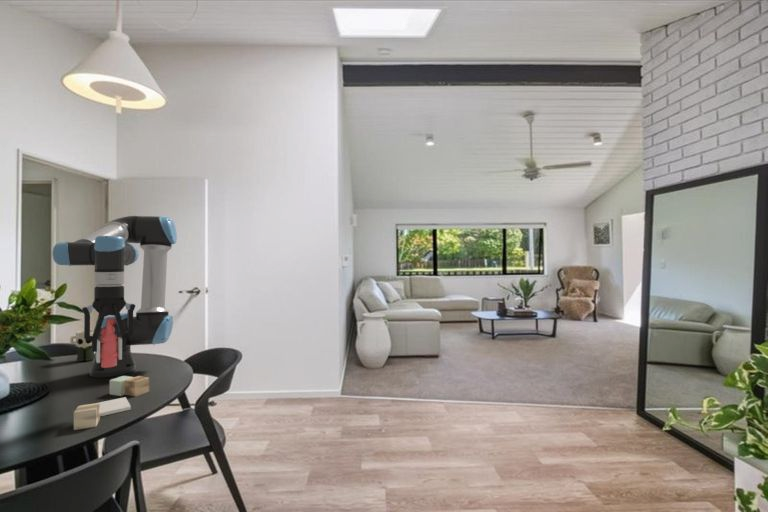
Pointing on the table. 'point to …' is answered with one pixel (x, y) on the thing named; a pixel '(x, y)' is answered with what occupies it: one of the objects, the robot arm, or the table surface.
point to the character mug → (83, 346)
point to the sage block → (118, 385)
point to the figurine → (108, 345)
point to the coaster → (114, 406)
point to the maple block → (86, 416)
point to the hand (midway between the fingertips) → (109, 360)
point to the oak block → (136, 386)
